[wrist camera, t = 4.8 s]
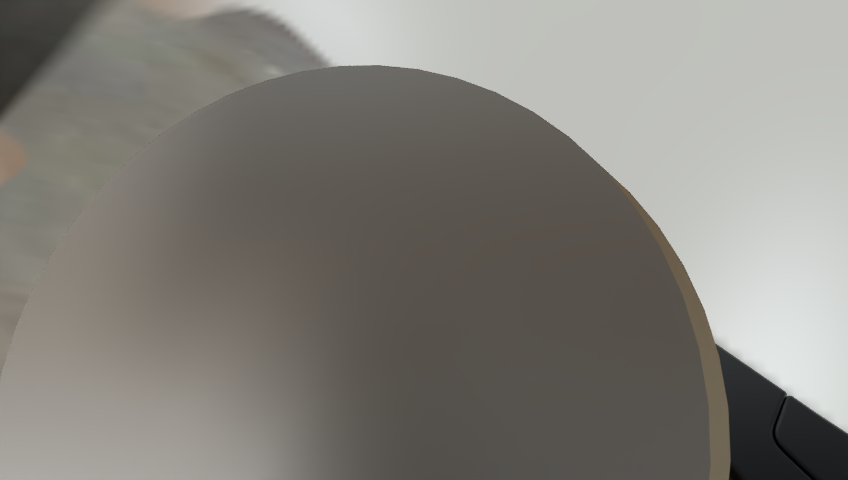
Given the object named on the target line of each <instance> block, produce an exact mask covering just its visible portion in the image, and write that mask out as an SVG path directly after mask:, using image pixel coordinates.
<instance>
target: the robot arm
mask: <svg viewBox="0 0 848 480" xmlns="http://www.w3.org/2000/svg"><path fill="white" fill-rule="evenodd" d="M715 345H716V348H717V351H718V354H719V358H720V364H721V369H722V375H723V381H724V386H725V392H726V397H727V403H728V412H729V436H730V459H731V462H730V472H729V480H848V433H846V432H845V431H843V430H842V429H840V428H838V427H837V426H835V425H834V424H832V423H831V422H829V421H828V420H826V419H825V418H823V417H822V416H820V415H819V414H817V413H816V412H814V411H813V410H811V409H810V408H808V407H807V406H806V405H804V404H803V403H801V402H800V401H798V400H797V399H795V398H794V397H792V396H787V393H786V392H785V391H783V390H782V389H781V388H779V387H778V386H776V385H775V384H773V383H772V382H770V381H769V380H767V379H766V378H765V377H763V376H762V375H760V374H759V373H757V372H756V371H754V370H753V369H752V368H750V367H749V366H747V365H746V364H744V363H743V362H741V361H740V360H738V359H737V358H736V357H734V356H733V355H731V354H730V353H728V352H727V351H725V350H724V349H723V348H721V347H720V346H718V345H717V344H715Z"/></svg>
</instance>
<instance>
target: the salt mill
mask: <svg viewBox="0 0 848 480" xmlns="http://www.w3.org/2000/svg"><path fill="white" fill-rule="evenodd" d="M730 462H731V459H730V436H729V412H728V403H727V397H726V392H725V386H724V381H723V375H722V369H721V364H720V358H719V354H718V351H717V348H716V345H715V342H714V339H713V336H712V332H711V329H710V326H709V323H708V320H707V317H706V314H705V311H704V308H703V306H702V304H701V302H700V299H699V298H698V295H697V293H696V291H695V289H694V287H693V285H692V282H691V280H690V278H689V276H688V274H687V272H686V270H685V268H684V265H683V264H682V262H681V261H680V259H679V258H678V256H677V255H676V253H675V251H674V250H673V248H672V247H671V245H670V244H669V242H668V241H667V239H666V237H665V236H664V234H663V233H662V231H661V230H660V228H659V227H658V225H657V224H656V223H655V222H654V221H653V220H652V218H651V217H650V216H649V215H648V214H647V212H646V211H645V210H644V209H643V208H642V206H641V205H640V204H639V203H638V202H637V201H636V199H635V198H634V197H633V196H632V195H631V193H630V192H628V190H626V189H625V188H624V187H623V186H622V185H621V184H620V183H619V182H618V181H617V180H615V179H614V178H613V177H612V176H611V175H610V174H609V173H608V172H607V171H606V170H605V169H604V168H602V167H601V166H600V165H599V164H598V163H597V162H596V161H595V160H594V159H593V158H591V157H590V156H589V155H588V154H587V153H586V152H585V151H584V150H582V149H581V147H579V146H578V145H577V144H576V143H575V142H574V141H573V140H572V139H571V138H569V137H568V136H567V135H565V134H564V133H563V132H561V131H560V130H558V129H557V128H555V127H554V126H552V125H551V124H550V123H548V122H547V121H545V120H544V119H543V118H541V117H540V116H538V115H537V114H535V113H534V112H532V111H530V110H529V109H527V108H525V107H523V106H521V105H519V104H517V103H515V102H513V101H511V100H509V99H507V98H505V97H504V96H501V95H500V94H498V93H496V92H493V91H490V90H487V89H485V88H482V87H480V86H477V85H474V84H471V83H469V82H466V81H463V80H460V79H458V78H454V77H449V76H445V75H440V74H436V73H432V72H428V71H423V70H419V69H410V68H400V67H390V66H380V65H372V66H338V67H330V68H323V69H316V70H309V71H302V72H298V73H294V74H290V75H286V76H282V77H279V78H275V79H271V80H267V81H264V82H261V83H258V84H256V85H253V86H251V87H248V88H245V89H243V90H240V91H237V92H235V93H232V94H229V95H227V96H225V97H223V98H222V99H220V100H218V101H216V102H214V103H212V104H210V105H208V106H206V107H204V108H202V109H200V110H198V111H196V112H194V113H193V114H191V115H190V116H188V117H186V118H185V119H183V120H182V121H180V122H179V123H177V124H176V125H174V126H173V127H171V128H169V129H168V130H166V131H165V132H163V133H162V134H161V135H159V136H158V137H157V138H156V139H154V140H153V141H152V142H151V143H149V144H148V145H147V146H146V147H144V148H143V149H142V150H141V151H139V152H138V153H137V154H136V155H134V156H133V157H132V158H131V159H130V160H129V161H128V162H127V163H126V164H125V165H124V166H123V167H122V168H121V169H120V170H119V171H118V172H117V173H116V174H115V175H114V176H113V177H112V178H111V179H110V180H108V181H107V182H106V183H105V184H104V185H103V186H102V188H101V189H100V190H99V191H98V192H97V194H96V195H95V196H94V197H93V198H92V200H91V201H90V202H89V203H88V204H87V206H86V207H85V208H84V209H83V210H82V212H81V213H80V214H79V215H78V216H77V218H76V219H75V221H74V222H73V223H72V225H71V226H70V228H69V229H68V231H67V232H66V234H65V235H64V237H63V238H62V240H61V241H60V243H59V244H58V245H57V247H56V248H55V250H54V251H53V253H52V255H51V257H50V258H49V260H48V262H47V264H46V266H45V268H44V269H43V271H42V273H41V275H40V277H39V278H38V280H37V282H36V284H35V286H34V288H33V289H32V292H31V294H30V296H29V299H28V301H27V303H26V306H25V308H24V310H23V313H22V315H21V317H20V320H19V322H18V324H17V327H16V329H15V332H14V335H13V338H12V341H11V345H10V348H9V351H8V354H7V357H6V360H5V364H4V367H3V370H2V373H1V378H0V480H729V472H730Z"/></svg>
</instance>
